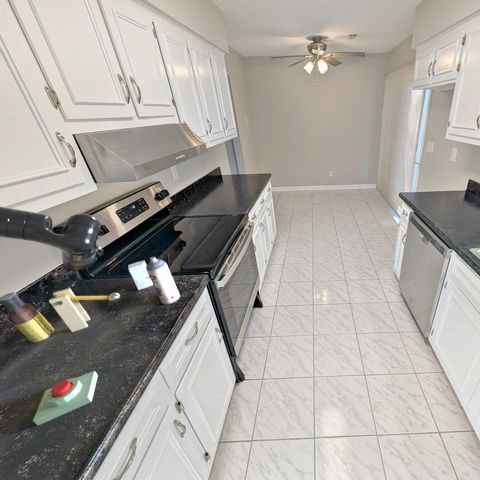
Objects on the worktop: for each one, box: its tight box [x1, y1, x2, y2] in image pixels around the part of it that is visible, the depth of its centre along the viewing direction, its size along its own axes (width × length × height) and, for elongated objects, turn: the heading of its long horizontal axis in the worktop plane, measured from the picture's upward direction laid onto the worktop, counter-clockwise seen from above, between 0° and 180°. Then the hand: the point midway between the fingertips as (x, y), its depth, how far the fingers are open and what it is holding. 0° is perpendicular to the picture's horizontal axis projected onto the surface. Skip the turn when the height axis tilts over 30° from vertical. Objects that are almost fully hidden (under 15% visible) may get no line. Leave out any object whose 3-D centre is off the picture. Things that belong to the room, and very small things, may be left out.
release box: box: [32, 370, 99, 426], centre depth 68 cm, size 11×9×4 cm
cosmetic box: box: [128, 260, 154, 291], centre depth 110 cm, size 6×4×12 cm
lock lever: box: [56, 292, 122, 303], centre depth 90 cm, size 17×4×4 cm, turn 120°
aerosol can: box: [146, 256, 181, 306], centre depth 99 cm, size 7×7×20 cm
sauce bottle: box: [0, 292, 55, 344], centre depth 85 cm, size 7×6×20 cm
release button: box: [51, 379, 72, 397], centre depth 67 cm, size 4×4×2 cm
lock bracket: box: [48, 287, 91, 333], centre depth 89 cm, size 9×8×16 cm
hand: (78, 269), depth 89 cm, fingers open, 8 cm apart
